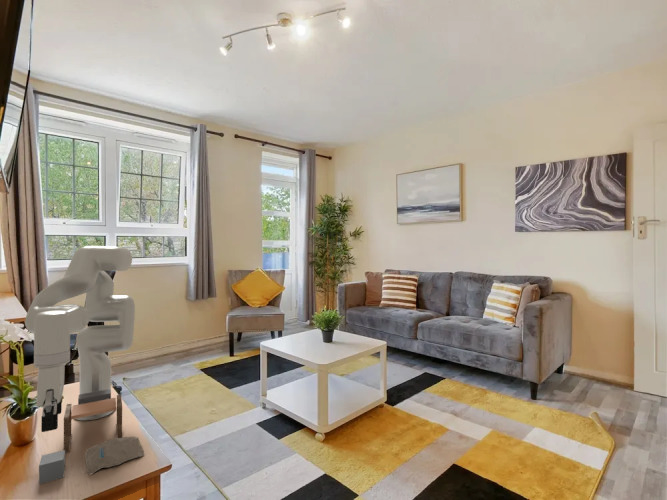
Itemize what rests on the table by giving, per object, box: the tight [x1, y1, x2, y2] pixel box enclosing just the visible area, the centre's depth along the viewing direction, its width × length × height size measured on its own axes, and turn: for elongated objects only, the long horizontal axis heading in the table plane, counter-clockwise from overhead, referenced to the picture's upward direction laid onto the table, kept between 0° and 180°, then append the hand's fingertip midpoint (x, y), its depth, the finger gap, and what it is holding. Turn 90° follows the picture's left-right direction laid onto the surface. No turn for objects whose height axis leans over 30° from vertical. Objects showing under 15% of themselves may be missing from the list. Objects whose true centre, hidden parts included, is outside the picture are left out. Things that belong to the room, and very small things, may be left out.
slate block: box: [38, 449, 66, 485], centre depth 95 cm, size 5×5×5 cm
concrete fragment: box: [84, 435, 145, 475], centre depth 102 cm, size 7×14×6 cm, turn 127°
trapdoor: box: [71, 388, 117, 421], centre depth 116 cm, size 14×12×3 cm
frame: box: [62, 394, 124, 454], centre depth 113 cm, size 10×15×10 cm
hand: (51, 422), depth 94 cm, fingers open, 9 cm apart
